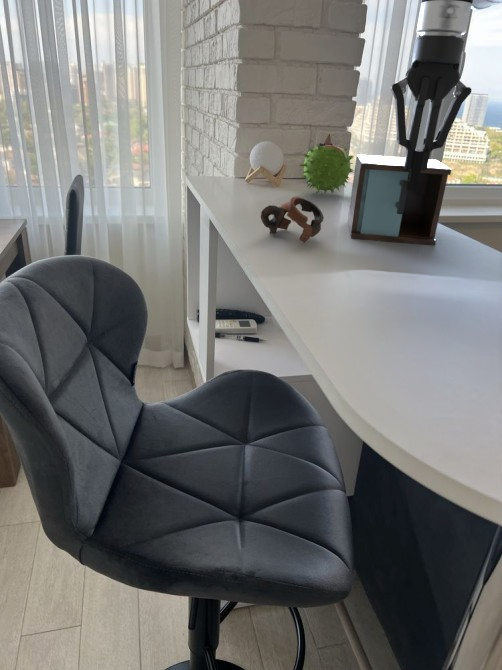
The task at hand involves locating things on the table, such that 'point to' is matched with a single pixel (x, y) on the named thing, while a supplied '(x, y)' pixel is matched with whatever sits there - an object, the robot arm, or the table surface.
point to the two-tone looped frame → (293, 217)
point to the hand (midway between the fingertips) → (411, 188)
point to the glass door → (384, 202)
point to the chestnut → (327, 167)
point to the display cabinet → (418, 204)
